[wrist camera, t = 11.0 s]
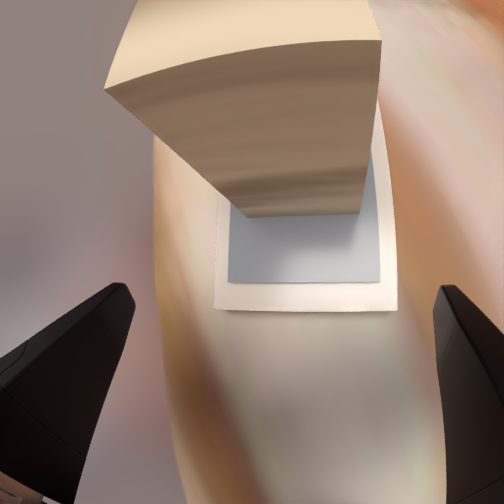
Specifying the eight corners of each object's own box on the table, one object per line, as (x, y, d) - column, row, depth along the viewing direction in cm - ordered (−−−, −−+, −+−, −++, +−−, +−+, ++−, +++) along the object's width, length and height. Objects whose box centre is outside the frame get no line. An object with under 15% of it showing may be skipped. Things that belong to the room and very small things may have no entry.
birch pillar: (359, 214, 16) (381, 40, 5) (247, 217, 18) (103, 89, 6) (349, 116, 17) (334, -70, 5) (250, 123, 18) (155, -33, 7)
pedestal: (390, 309, 17) (399, 310, 15) (227, 308, 20) (209, 309, 17) (368, 82, 20) (369, 56, 17) (237, 93, 23) (224, 70, 20)
